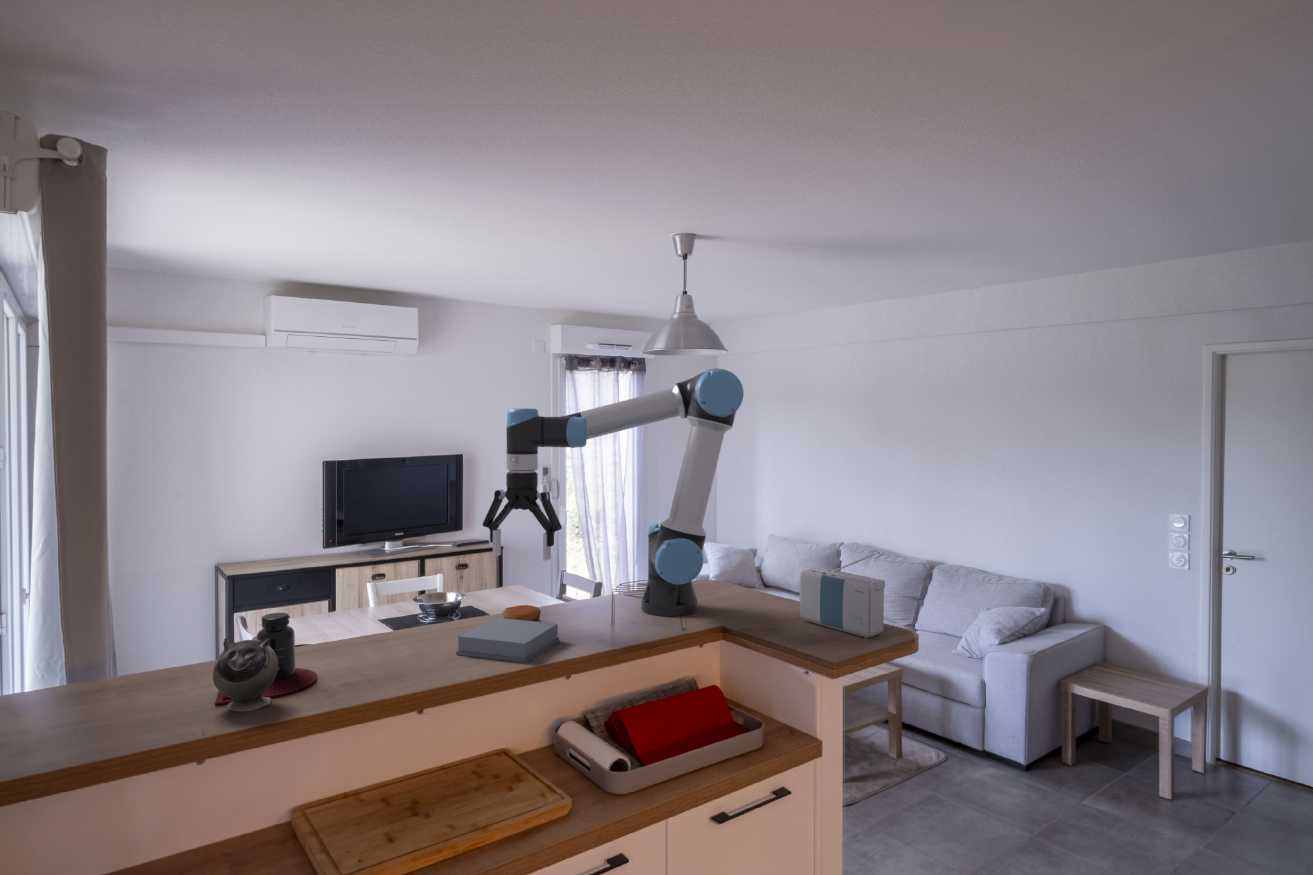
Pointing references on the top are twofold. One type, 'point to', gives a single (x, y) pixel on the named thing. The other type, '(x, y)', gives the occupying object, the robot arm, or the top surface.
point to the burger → (522, 613)
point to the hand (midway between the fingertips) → (521, 557)
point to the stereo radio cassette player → (842, 600)
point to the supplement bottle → (280, 641)
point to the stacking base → (508, 640)
